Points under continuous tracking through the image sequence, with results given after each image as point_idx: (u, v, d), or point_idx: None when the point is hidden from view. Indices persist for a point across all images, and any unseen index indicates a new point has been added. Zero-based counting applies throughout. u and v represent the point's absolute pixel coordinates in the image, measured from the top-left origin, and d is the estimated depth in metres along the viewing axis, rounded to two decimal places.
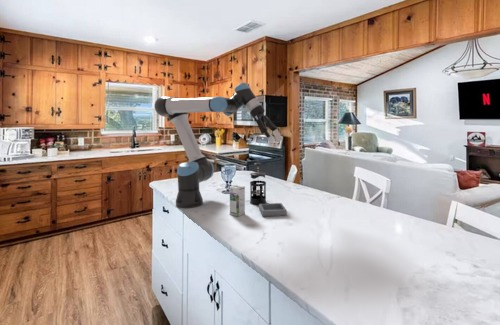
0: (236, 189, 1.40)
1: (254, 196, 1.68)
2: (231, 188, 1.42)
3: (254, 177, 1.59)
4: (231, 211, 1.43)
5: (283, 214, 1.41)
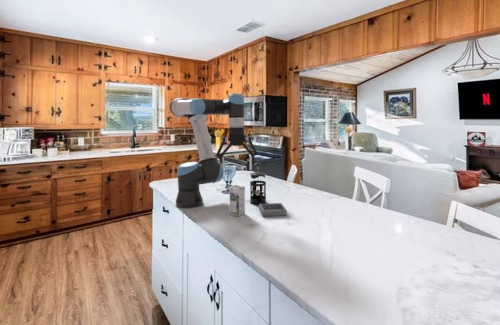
0: (236, 189, 1.40)
1: (254, 196, 1.68)
2: (231, 188, 1.42)
3: (254, 177, 1.59)
4: (231, 211, 1.43)
5: (283, 214, 1.41)
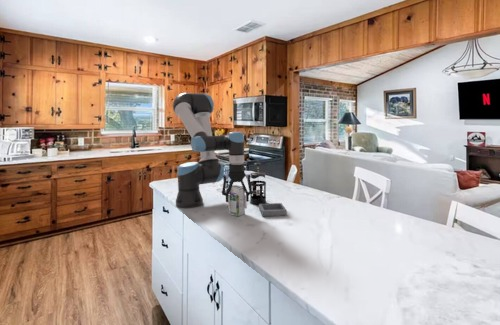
0: (236, 189, 1.40)
1: (254, 196, 1.68)
2: (231, 188, 1.42)
3: (254, 177, 1.59)
4: (231, 211, 1.43)
5: (283, 214, 1.41)
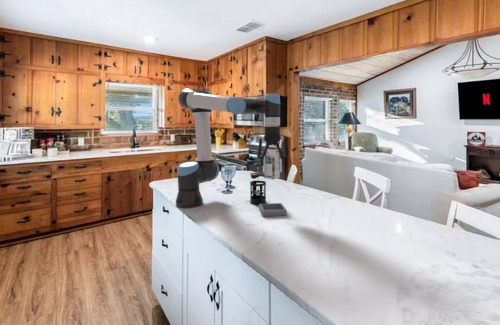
0: (272, 151, 1.39)
1: (254, 196, 1.68)
2: None
3: (254, 177, 1.59)
4: (266, 175, 1.42)
5: (283, 214, 1.41)
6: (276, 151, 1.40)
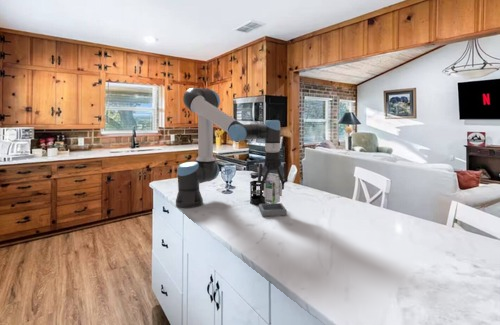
0: (272, 177, 1.41)
1: (254, 196, 1.68)
2: (267, 176, 1.43)
3: (254, 177, 1.59)
4: (267, 199, 1.44)
5: (283, 214, 1.41)
6: (276, 176, 1.42)
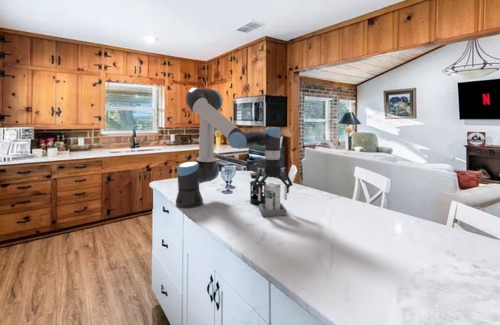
0: (273, 187, 1.42)
1: (254, 196, 1.68)
2: (267, 186, 1.44)
3: (254, 177, 1.59)
4: (267, 209, 1.45)
5: (283, 214, 1.41)
6: (277, 186, 1.43)
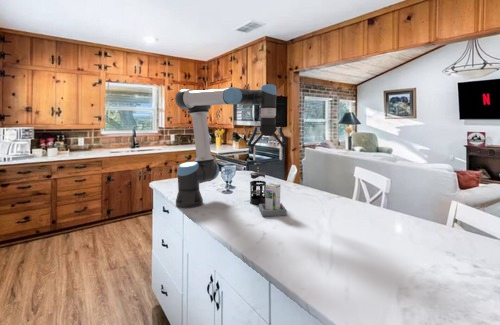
0: (273, 187, 1.42)
1: (254, 196, 1.68)
2: (267, 186, 1.44)
3: (254, 177, 1.59)
4: (267, 209, 1.45)
5: (283, 214, 1.41)
6: (277, 186, 1.43)
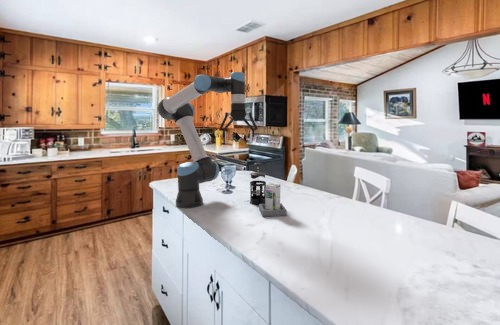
0: (273, 187, 1.42)
1: (254, 196, 1.68)
2: (267, 186, 1.44)
3: (254, 177, 1.59)
4: (267, 209, 1.45)
5: (283, 214, 1.41)
6: (277, 186, 1.43)
